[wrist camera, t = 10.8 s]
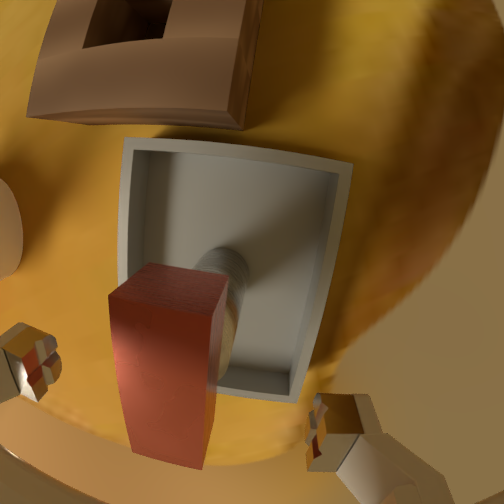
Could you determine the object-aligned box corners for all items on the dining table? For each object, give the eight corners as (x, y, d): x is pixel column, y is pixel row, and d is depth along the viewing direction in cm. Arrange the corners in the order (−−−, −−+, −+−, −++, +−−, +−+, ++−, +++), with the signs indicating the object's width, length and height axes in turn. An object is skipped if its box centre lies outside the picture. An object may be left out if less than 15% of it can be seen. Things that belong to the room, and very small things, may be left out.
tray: (147, 140, 16) (124, 137, 13) (339, 164, 16) (353, 163, 13) (141, 347, 20) (125, 371, 17) (294, 374, 20) (296, 403, 17)
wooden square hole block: (120, -5, 13) (77, -43, 7) (266, -13, 13) (262, -72, 7) (89, 125, 16) (26, 117, 10) (243, 130, 15) (226, 111, 10)
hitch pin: (201, 217, 16) (97, 292, 6) (256, 225, 16) (226, 319, 6) (193, 315, 18) (124, 449, 8) (242, 323, 18) (210, 471, 8)
